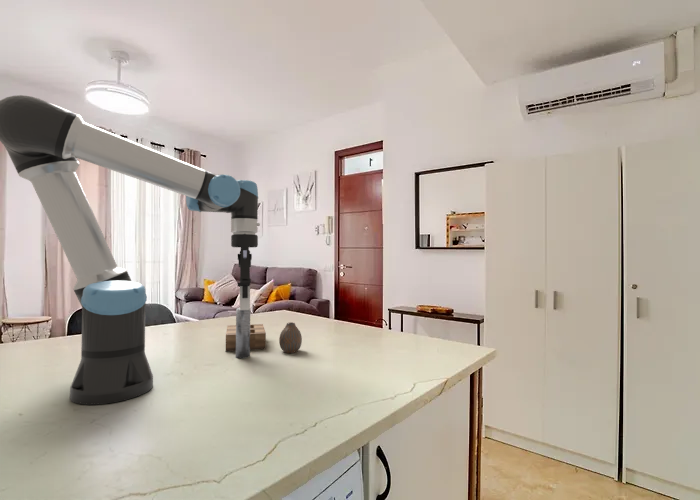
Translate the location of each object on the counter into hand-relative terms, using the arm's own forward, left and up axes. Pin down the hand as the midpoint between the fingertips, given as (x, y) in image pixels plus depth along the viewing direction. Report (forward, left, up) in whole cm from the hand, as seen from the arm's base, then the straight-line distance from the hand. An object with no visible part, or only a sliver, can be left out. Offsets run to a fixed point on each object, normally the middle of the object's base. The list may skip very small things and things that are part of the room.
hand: (244, 306), depth 110 cm
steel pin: (0, 0, -15) cm, 15 cm away
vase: (+2, -14, -15) cm, 20 cm away
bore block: (+15, -1, -15) cm, 21 cm away
